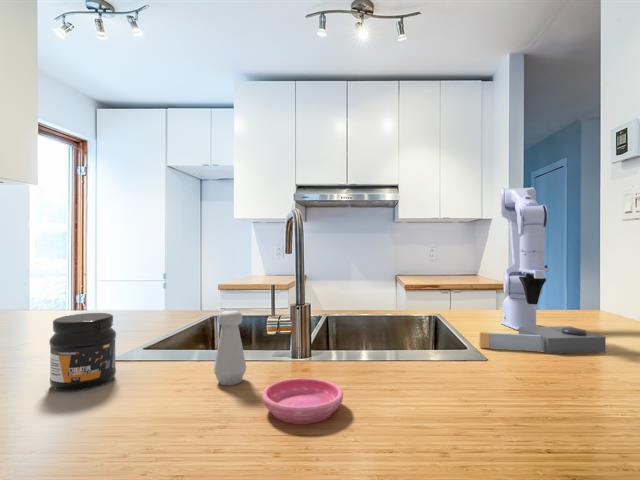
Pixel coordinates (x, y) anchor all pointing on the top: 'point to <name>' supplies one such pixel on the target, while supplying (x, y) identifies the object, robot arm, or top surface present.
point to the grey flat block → (566, 339)
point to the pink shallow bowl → (302, 400)
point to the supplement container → (82, 351)
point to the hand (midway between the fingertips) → (532, 303)
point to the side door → (510, 341)
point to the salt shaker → (230, 350)
